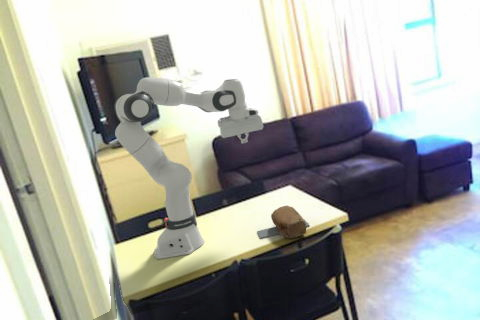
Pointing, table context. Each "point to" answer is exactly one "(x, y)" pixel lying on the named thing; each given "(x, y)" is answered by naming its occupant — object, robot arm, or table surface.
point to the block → (289, 222)
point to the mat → (271, 231)
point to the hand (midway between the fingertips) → (244, 142)
